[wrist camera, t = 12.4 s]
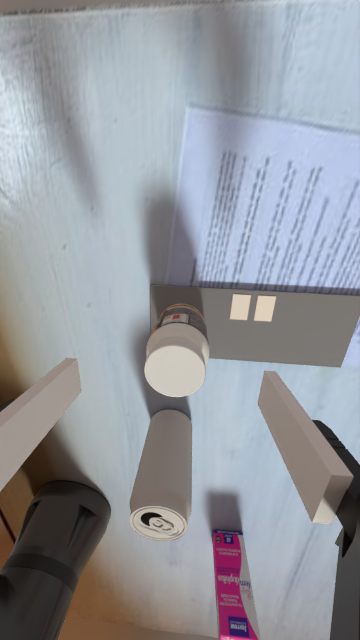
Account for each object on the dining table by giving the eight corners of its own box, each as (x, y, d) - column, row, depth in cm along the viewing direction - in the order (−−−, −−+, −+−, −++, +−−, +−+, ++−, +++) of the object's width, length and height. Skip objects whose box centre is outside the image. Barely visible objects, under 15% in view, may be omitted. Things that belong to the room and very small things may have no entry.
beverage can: (167, 398, 28) (149, 495, 17) (201, 421, 29) (205, 527, 18) (143, 422, 30) (112, 524, 19) (175, 443, 31) (164, 552, 20)
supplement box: (242, 530, 38) (262, 642, 27) (240, 547, 39) (258, 658, 29) (212, 528, 38) (220, 637, 27) (212, 545, 40) (219, 653, 29)
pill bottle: (153, 307, 23) (126, 344, 14) (200, 298, 22) (205, 331, 13) (165, 349, 25) (147, 407, 16) (209, 341, 24) (218, 398, 15)
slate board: (151, 351, 26) (150, 354, 25) (150, 284, 23) (149, 285, 22) (337, 364, 25) (341, 367, 24) (362, 295, 22) (367, 296, 21)
